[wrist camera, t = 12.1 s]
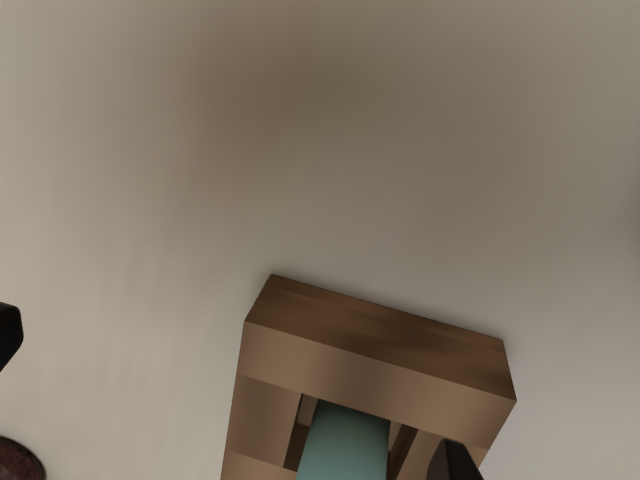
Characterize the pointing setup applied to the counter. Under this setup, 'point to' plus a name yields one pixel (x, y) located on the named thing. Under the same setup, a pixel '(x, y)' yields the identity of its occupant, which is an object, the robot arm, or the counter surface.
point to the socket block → (359, 381)
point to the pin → (344, 445)
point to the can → (18, 463)
